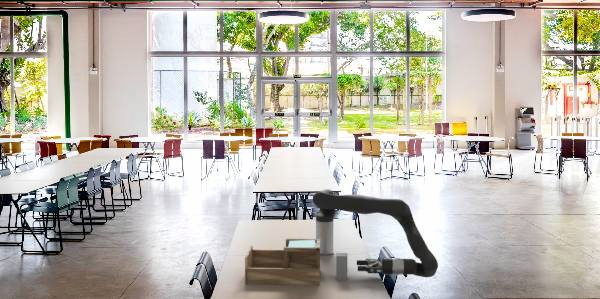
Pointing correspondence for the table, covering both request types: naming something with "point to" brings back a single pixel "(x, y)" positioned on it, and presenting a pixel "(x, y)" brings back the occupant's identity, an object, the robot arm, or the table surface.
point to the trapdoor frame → (283, 265)
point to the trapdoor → (302, 243)
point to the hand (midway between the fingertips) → (357, 265)
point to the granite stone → (341, 266)
